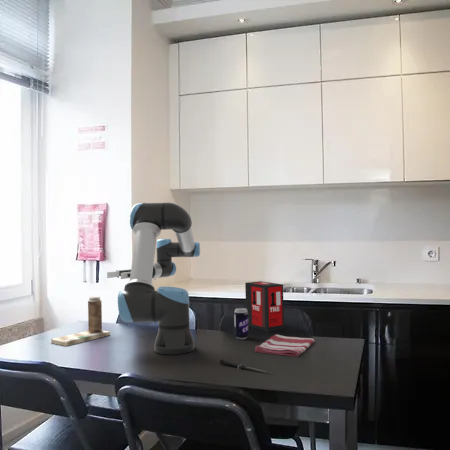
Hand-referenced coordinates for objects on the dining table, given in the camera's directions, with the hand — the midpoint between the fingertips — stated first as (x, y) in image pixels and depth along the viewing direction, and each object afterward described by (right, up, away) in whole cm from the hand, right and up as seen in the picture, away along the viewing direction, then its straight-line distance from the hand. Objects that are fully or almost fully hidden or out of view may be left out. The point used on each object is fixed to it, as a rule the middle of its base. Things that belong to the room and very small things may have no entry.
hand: (114, 275), depth 208 cm
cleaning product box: (+68, -24, +1) cm, 72 cm away
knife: (+59, -24, -62) cm, 89 cm away
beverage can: (+57, -24, -19) cm, 65 cm away
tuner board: (-10, -25, -15) cm, 31 cm away
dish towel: (+73, -24, -34) cm, 84 cm away
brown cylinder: (-5, -23, -10) cm, 26 cm away
